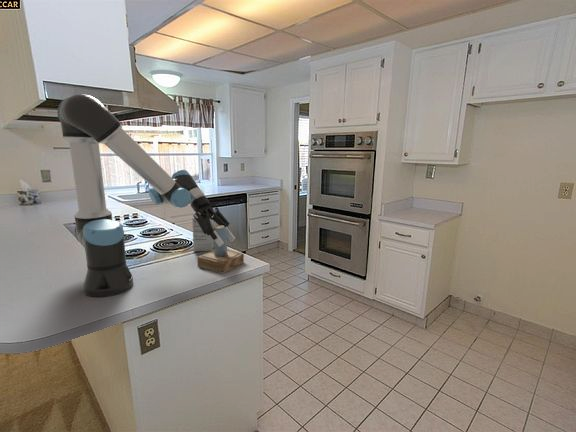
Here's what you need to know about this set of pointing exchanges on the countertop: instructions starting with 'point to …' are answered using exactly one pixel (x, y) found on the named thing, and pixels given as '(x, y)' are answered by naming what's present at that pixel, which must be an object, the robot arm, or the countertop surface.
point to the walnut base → (220, 261)
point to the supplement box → (201, 237)
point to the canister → (221, 232)
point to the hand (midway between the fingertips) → (227, 242)
